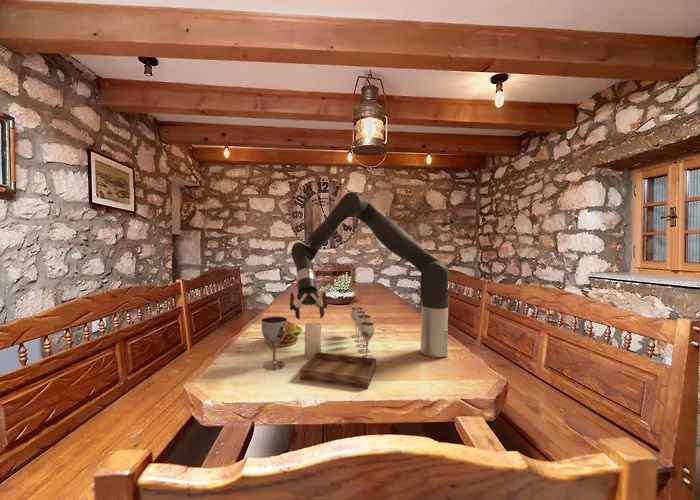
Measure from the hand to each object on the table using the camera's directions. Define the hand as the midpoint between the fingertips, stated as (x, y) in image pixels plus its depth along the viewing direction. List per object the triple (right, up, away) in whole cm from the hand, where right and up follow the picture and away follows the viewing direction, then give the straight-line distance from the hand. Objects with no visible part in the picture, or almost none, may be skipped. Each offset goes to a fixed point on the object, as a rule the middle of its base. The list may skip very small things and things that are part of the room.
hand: (310, 317), depth 114 cm
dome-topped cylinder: (+2, -12, -6) cm, 14 cm away
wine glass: (-10, -12, -15) cm, 22 cm away
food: (-11, -12, +7) cm, 18 cm away
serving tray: (+12, -13, -20) cm, 27 cm away
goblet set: (+19, -12, +5) cm, 23 cm away
